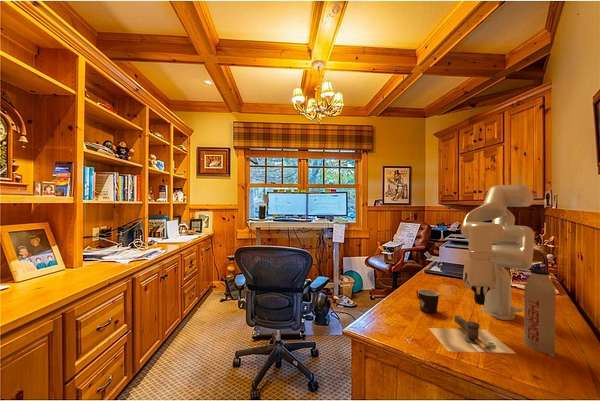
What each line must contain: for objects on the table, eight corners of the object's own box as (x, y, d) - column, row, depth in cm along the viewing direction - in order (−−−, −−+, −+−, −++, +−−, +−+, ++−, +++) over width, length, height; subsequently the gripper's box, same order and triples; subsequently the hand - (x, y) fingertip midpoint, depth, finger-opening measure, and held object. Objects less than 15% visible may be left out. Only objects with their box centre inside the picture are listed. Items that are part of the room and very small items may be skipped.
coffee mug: (441, 319, 116) (441, 296, 116) (420, 317, 118) (420, 295, 118) (433, 308, 128) (434, 287, 128) (414, 306, 130) (414, 286, 129)
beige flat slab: (486, 333, 104) (486, 328, 104) (516, 358, 88) (516, 351, 88) (428, 331, 105) (428, 326, 105) (448, 355, 90) (448, 349, 90)
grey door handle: (490, 349, 89) (490, 333, 89) (478, 348, 89) (478, 332, 89) (461, 324, 107) (461, 311, 107) (452, 324, 107) (452, 310, 107)
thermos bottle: (539, 358, 88) (540, 273, 88) (518, 344, 96) (518, 267, 96) (561, 356, 89) (562, 273, 89) (538, 343, 97) (538, 267, 96)
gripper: (493, 254, 105) (493, 301, 105) (454, 253, 106) (454, 299, 106) (507, 258, 98) (506, 308, 98) (465, 257, 99) (464, 306, 98)
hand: (479, 303), depth 102 cm, fingers closed
